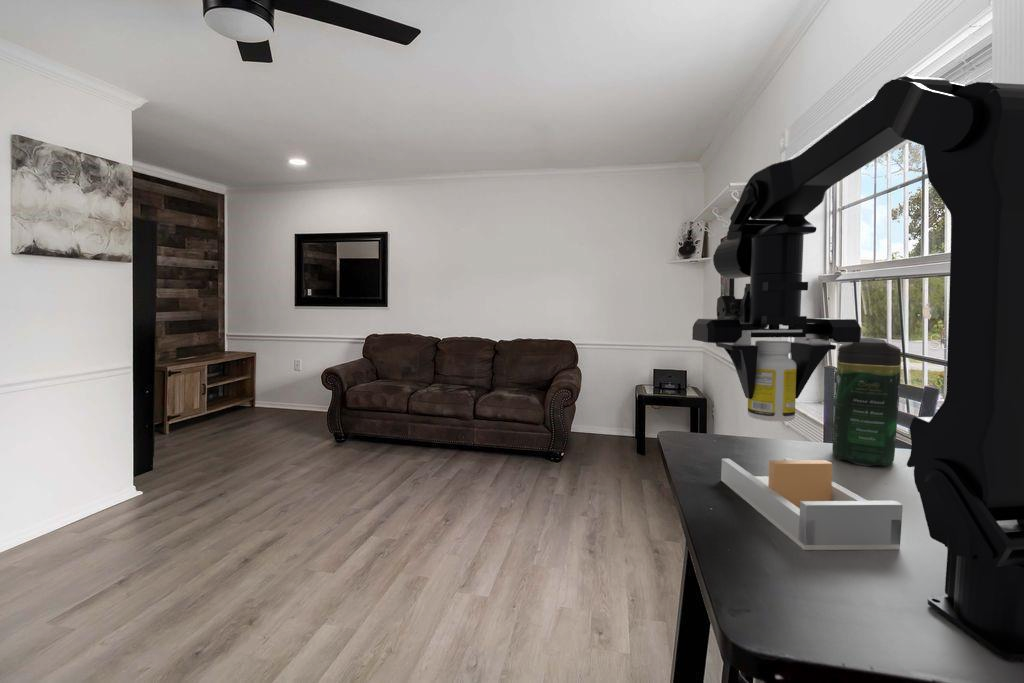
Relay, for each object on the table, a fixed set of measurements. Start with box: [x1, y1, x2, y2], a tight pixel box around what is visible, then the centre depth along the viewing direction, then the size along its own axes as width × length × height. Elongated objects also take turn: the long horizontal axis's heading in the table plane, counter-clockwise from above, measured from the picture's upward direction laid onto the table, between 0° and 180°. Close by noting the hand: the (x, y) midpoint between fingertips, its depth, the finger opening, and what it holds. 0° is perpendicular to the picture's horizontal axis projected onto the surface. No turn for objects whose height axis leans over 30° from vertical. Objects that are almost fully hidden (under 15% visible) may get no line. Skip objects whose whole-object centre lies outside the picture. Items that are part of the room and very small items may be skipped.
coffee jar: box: [832, 337, 902, 467], centre depth 76 cm, size 10×8×19 cm
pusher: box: [768, 459, 833, 506], centre depth 57 cm, size 1×7×5 cm, turn 90°
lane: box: [720, 457, 904, 551], centre depth 58 cm, size 19×9×4 cm, turn 0°
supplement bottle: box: [747, 340, 796, 423], centre depth 63 cm, size 5×5×10 cm
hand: (771, 398), depth 64 cm, fingers closed on supplement bottle, 5 cm apart
